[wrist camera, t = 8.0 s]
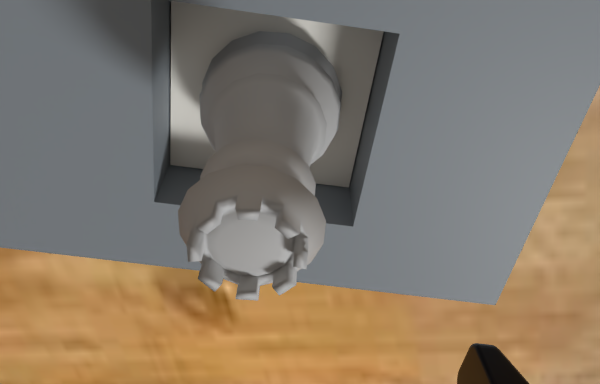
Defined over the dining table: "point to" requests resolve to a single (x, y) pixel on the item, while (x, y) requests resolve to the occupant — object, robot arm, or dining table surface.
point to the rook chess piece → (261, 163)
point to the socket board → (339, 154)
